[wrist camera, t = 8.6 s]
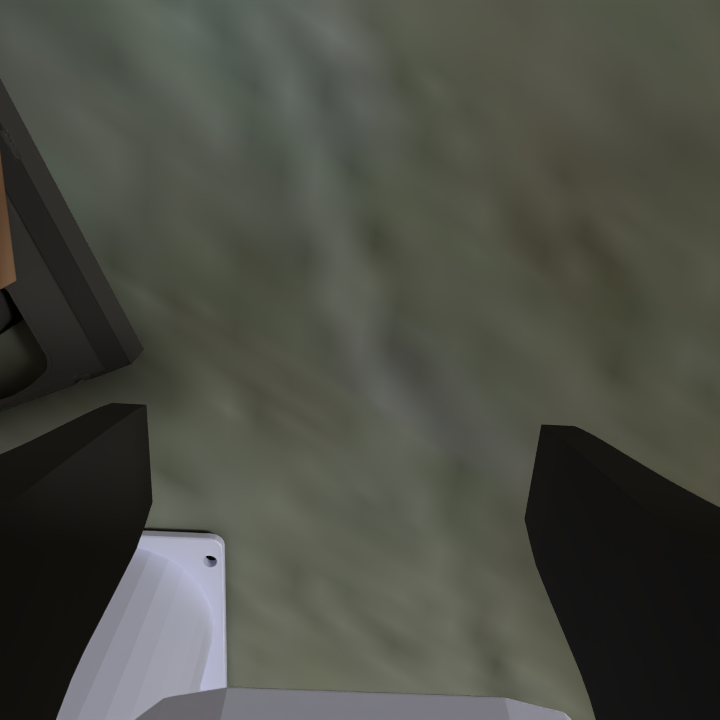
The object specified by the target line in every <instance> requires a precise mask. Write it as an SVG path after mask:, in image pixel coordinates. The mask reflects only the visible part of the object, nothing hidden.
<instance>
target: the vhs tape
mask: <svg viewBox="0 0 720 720" xmlns="http://www.w3.org/2000/svg"><path fill="white" fill-rule="evenodd" d="M0 155H1V163H2V171H3V179H4V187H5V195H6V203H7V210H8V218H9V226H10V234H11V242H12V250H13V257H14V265H15V273H16V281H15V282H13V283H11V284H9V285H7V286H6V287H4V288H2V289H0V335H1V334H2V333H4V332H5V331H6V330H7V329H9V328H11V327H12V326H11V325H12V324H13V322H14V320H15V319H16V316H17V312H18V309H19V311H20V313H21V314H22V316H23V318H24V319H23V320H25V321H26V323H27V325H28V326H29V328H30V330H31V332H32V333H33V335H34V337H35V338H36V340H37V342H38V343H39V345H40V347H41V349H42V350H43V352H44V354H45V355H46V358H47V369H46V371H45V372H44V373H43V374H42V375H41V376H40V377H39V378H38V379H37V380H36V381H35V382H34V383H33V384H31V385H30V386H28V387H27V388H25V389H24V390H22V391H20V392H18V393H16V394H14V395H12V396H10V397H7V398H3V399H0V412H1V411H4V410H6V409H9V408H12V407H15V406H17V405H20V404H23V403H25V402H28V401H31V400H34V399H36V398H39V397H42V396H45V395H47V394H50V393H53V392H55V391H58V390H61V389H64V388H66V387H69V386H72V385H75V384H76V383H77V382H78V381H80V380H81V379H83V380H88V379H92V378H94V377H97V376H100V375H103V374H105V373H108V372H111V371H113V370H116V369H119V368H121V367H124V366H127V365H130V364H131V363H132V362H133V361H134V360H135V359H136V357H137V356H138V355H139V354H140V353H141V351H142V350H143V348H142V346H141V344H140V342H139V340H138V338H137V336H136V334H135V332H134V331H133V329H132V327H131V325H130V323H129V321H128V319H127V317H126V315H125V314H124V312H123V310H122V308H121V306H120V304H119V302H118V300H117V298H116V297H115V295H114V293H113V291H112V289H111V287H110V285H109V283H108V281H107V280H106V278H105V276H104V274H103V272H102V270H101V268H100V266H99V264H98V263H97V261H96V259H95V257H94V255H93V253H92V251H91V249H90V247H89V246H88V244H87V242H86V240H85V238H84V236H83V234H82V232H81V230H80V229H79V227H78V225H77V223H76V221H75V219H74V217H73V215H72V213H71V212H70V210H69V208H68V206H67V204H66V202H65V200H64V198H63V196H62V195H61V193H60V191H59V189H58V187H57V185H56V183H55V181H54V179H53V178H52V176H51V174H50V172H49V170H48V168H47V166H46V164H45V162H44V161H43V159H42V157H41V155H40V153H39V151H38V149H37V147H36V145H35V143H34V142H33V140H32V138H31V136H30V134H29V132H28V130H27V128H26V126H25V125H24V123H23V121H22V119H21V117H20V115H19V113H18V111H17V109H16V108H15V106H14V104H13V102H12V100H11V98H10V96H9V94H8V92H7V91H6V89H5V87H4V85H3V83H2V81H1V79H0ZM21 321H22V320H21ZM19 322H20V321H19ZM19 322H18V323H19ZM16 324H17V323H16ZM13 326H14V325H13Z"/></svg>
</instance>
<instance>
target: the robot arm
mask: <svg viewBox="0 0 720 720" xmlns="http://www.w3.org/2000/svg"><path fill="white" fill-rule="evenodd" d="M151 505H152V487H151V471H150V455H149V439H148V423H147V407H146V405H140V404H120V403H111V404H108V405H105V406H102V407H100V408H98V409H95V410H93V411H91V412H89V413H87V414H85V415H82V416H80V417H78V418H76V419H74V420H72V421H70V422H68V423H66V424H64V425H62V426H60V427H58V428H56V429H54V430H52V431H50V432H48V433H46V434H44V435H42V436H40V437H38V438H36V439H34V440H32V441H30V442H27V443H25V444H23V445H21V446H19V447H16V448H14V449H12V450H10V451H7V452H5V453H3V454H1V455H0V720H571V719H570V718H569V717H568V716H567V715H566V714H565V713H564V712H560V711H556V710H552V709H548V708H544V707H540V706H536V705H532V704H528V703H524V702H520V701H516V700H512V699H508V698H504V697H497V696H470V695H442V694H415V693H387V692H360V691H332V690H305V689H277V688H249V687H227V653H226V589H225V544H224V541H223V539H222V538H221V537H220V536H218V535H216V534H211V533H188V532H165V531H143V530H144V527H145V524H146V521H147V517H148V514H149V511H150V508H151ZM525 523H526V527H527V531H528V536H529V540H530V544H531V548H532V552H533V556H534V559H535V563H536V566H537V569H538V571H539V574H540V577H541V579H542V581H543V584H544V586H545V589H546V591H547V594H548V596H549V599H550V601H551V604H552V606H553V608H554V611H555V613H556V615H557V618H558V620H559V623H560V625H561V627H562V630H563V632H564V635H565V637H566V639H567V642H568V644H569V647H570V649H571V651H572V654H573V656H574V658H575V661H576V663H577V666H578V668H579V670H580V673H581V676H582V679H583V681H584V684H585V687H586V690H587V692H588V695H589V698H590V701H591V705H592V708H593V711H594V715H595V718H596V720H720V507H718V506H716V505H714V504H712V503H710V502H708V501H706V500H704V499H702V498H701V497H699V496H697V495H695V494H693V493H691V492H689V491H687V490H686V489H684V488H682V487H680V486H678V485H676V484H675V483H673V482H671V481H669V480H668V479H666V478H664V477H662V476H661V475H659V474H657V473H656V472H654V471H652V470H651V469H649V468H647V467H646V466H644V465H642V464H641V463H639V462H637V461H636V460H634V459H632V458H631V457H629V456H627V455H626V454H624V453H622V452H621V451H619V450H617V449H616V448H614V447H613V446H611V445H609V444H608V443H606V442H604V441H603V440H601V439H599V438H597V437H596V436H594V435H592V434H590V433H588V432H586V431H584V430H582V429H580V428H578V427H575V426H560V425H541V430H540V436H539V441H538V447H537V452H536V458H535V464H534V469H533V475H532V480H531V486H530V491H529V497H528V503H527V508H526V514H525ZM206 556H213V557H215V558H216V560H208V559H207V558H206Z"/></svg>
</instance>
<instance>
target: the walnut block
mask: <svg viewBox="0 0 720 720" xmlns="http://www.w3.org/2000/svg"><path fill="white" fill-rule="evenodd" d="M15 281H16V273H15V265H14V257H13V250H12V242H11V234H10V226H9V218H8V210H7V203H6V195H5V187H4V179H3V171H2V163H1V155H0V289H2V288H4V287H6V286H7V285H9V284H11V283H13V282H15Z"/></svg>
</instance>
